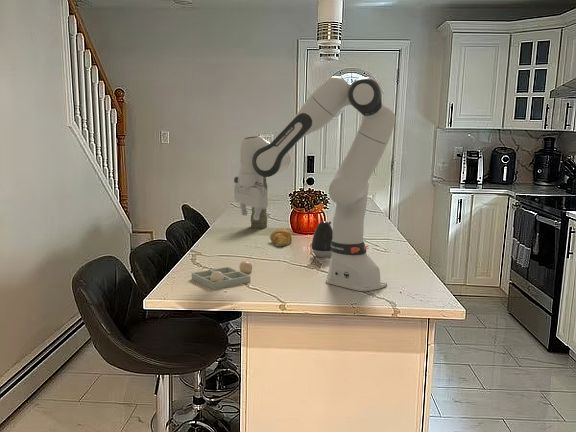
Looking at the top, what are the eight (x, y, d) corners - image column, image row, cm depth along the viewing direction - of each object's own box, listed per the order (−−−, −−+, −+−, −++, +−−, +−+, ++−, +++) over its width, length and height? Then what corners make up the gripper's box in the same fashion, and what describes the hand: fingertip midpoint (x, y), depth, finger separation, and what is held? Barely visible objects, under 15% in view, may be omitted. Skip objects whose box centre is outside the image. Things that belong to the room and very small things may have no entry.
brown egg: (254, 274, 206) (254, 261, 206) (244, 276, 203) (244, 263, 203) (247, 271, 210) (247, 259, 209) (237, 273, 207) (237, 260, 206)
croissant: (286, 255, 251) (294, 240, 250) (266, 245, 250) (275, 229, 249) (287, 244, 272) (294, 230, 270) (269, 234, 271) (276, 220, 270)
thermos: (268, 225, 304) (268, 161, 298) (266, 229, 293) (266, 162, 287) (252, 224, 305) (252, 161, 299) (249, 228, 293) (249, 162, 287)
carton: (250, 284, 194) (250, 275, 193) (213, 291, 185) (212, 283, 184) (227, 274, 205) (227, 266, 205) (191, 281, 196) (191, 273, 196)
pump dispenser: (339, 255, 237) (340, 220, 234) (327, 260, 228) (328, 224, 226) (319, 252, 242) (320, 218, 240) (306, 257, 234) (307, 221, 231)
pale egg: (226, 285, 189) (226, 271, 189) (214, 287, 187) (214, 273, 186) (219, 281, 193) (219, 268, 192) (207, 284, 190) (207, 270, 189)
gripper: (272, 183, 196) (271, 222, 198) (246, 177, 213) (245, 212, 216) (256, 184, 193) (255, 223, 195) (231, 177, 210) (230, 213, 212)
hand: (250, 217), depth 205 cm, fingers open, 8 cm apart
